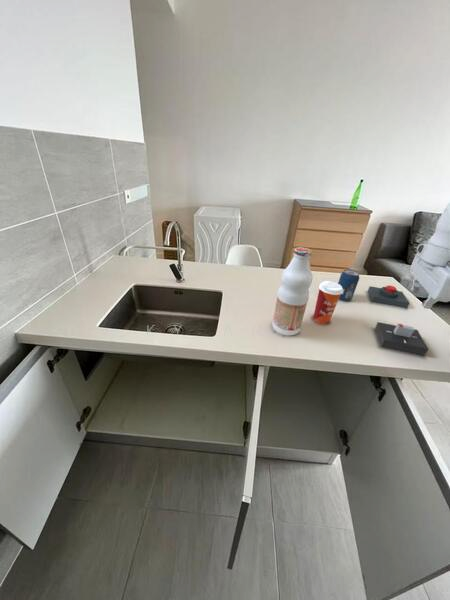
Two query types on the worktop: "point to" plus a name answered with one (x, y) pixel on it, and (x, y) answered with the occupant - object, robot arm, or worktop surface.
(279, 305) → the fruit juice
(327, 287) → the paper cup
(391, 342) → the timer panel
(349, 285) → the soda can
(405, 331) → the timer knob
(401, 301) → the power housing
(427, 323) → the worktop surface
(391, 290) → the power button
